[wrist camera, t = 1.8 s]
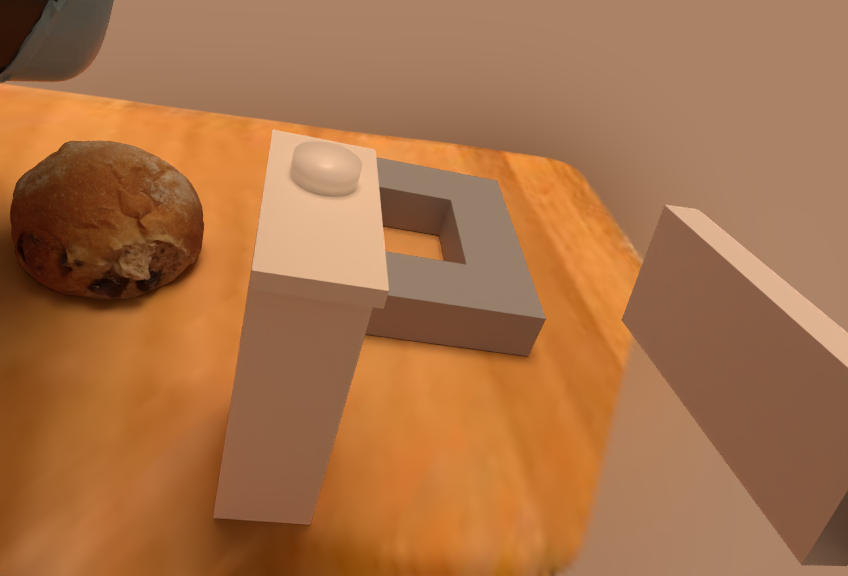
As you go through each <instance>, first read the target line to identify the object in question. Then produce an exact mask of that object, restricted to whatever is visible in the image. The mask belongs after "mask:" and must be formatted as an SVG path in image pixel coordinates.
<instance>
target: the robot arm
mask: <svg viewBox="0 0 848 576" xmlns="http://www.w3.org/2000/svg"><path fill="white" fill-rule="evenodd" d="M113 1H114V0H0V83H3V82H5V81H38V82H58V81H65V80H69V79H72V78H74V77H76V76H77V75H79V74H81V73H82V72H84V71H85V70H86V69H87V68H88V67H89V66H90V65H91V63H92V62H93V60H94V59H95V57H96V56H97V54H98V52H99V50H100V48H101V45H102V43H103V40H104V37H105V33H106V30H107V26H108V23H109V19H110V14H111V10H112V5H113ZM622 321H623V323H624V324H625V325H626V327H627V328H628V329H629V331H630V332H631V333H632V335H633V336H634V338H635V339H636V340H637V341H638V343H639V344H640V346H641V347H642V348H643V350H644V351H645V353H646V354H647V355H648V357H649V358H650V359H651V361H652V362H653V363H654V365H655V366H656V368H657V369H658V370H659V371H660V373H661V374H662V376H663V377H664V378H665V380H666V381H667V382H668V384H669V385H670V387H671V388H672V389H673V391H674V392H675V393H676V395H677V396H678V397H679V398H680V400H681V401H682V403H683V404H684V406H685V407H686V408H687V410H688V411H689V412H690V414H691V415H692V416H693V418H694V419H695V421H696V422H697V423H698V425H699V426H700V427H701V429H702V430H703V432H704V433H705V434H706V436H707V437H708V438H709V440H710V441H711V442H712V444H713V445H714V447H715V448H716V449H717V450H718V452H719V453H720V455H721V456H722V457H723V459H724V460H725V462H726V463H727V464H728V466H729V467H730V468H731V470H732V471H733V472H734V474H735V475H736V477H737V478H738V479H739V480H740V482H741V483H742V485H743V486H744V487H745V489H746V490H747V492H748V493H749V494H750V496H751V497H752V498H753V500H754V501H755V502H756V504H757V505H758V506H759V508H760V509H761V510H762V512H763V513H764V515H765V516H766V517H767V519H768V520H769V522H770V523H771V524H772V526H773V527H774V528H775V530H776V531H777V532H778V534H779V535H780V536H781V538H782V539H783V541H784V542H785V543H786V544H787V546H788V547H789V549H790V550H791V551H792V553H793V554H794V555H795V557H796V558H797V560H798V561H799V562H800V564H801V565H827V566H828V565H829V566H831V565H832V566H847V565H848V333H847V332H846V331H845V330H843V329H842V328H841V327H840V326H839V325H838V324H836V323H835V322H834V321H833V320H831V319H830V318H829V317H828V316H827V315H825V314H824V313H823V312H822V311H821V310H819V309H818V308H817V307H816V306H814V305H813V304H812V303H811V302H810V301H808V300H807V299H806V298H805V297H804V296H802V295H801V294H800V293H799V292H797V291H796V290H795V289H794V288H793V287H791V286H790V285H789V284H788V283H787V282H785V281H784V280H783V279H782V278H780V277H779V276H778V275H777V274H775V272H773V271H772V270H771V269H770V268H768V267H767V266H766V265H764V264H763V263H762V262H761V261H760V260H759V259H758V258H756V257H755V256H754V255H753V254H751V253H750V252H749V251H748V250H747V249H745V248H744V247H743V246H742V245H741V244H739V243H738V242H737V241H736V240H734V239H733V238H732V237H731V236H730V235H728V234H727V233H726V232H725V231H724V230H722V229H721V228H720V227H719V226H718V225H716V224H715V223H714V222H713V221H711V220H710V219H709V218H708V217H707V216H705V215H704V214H703V213H702V212H701V211H699V210H698V209H691V208H685V207H678V206H670V205H664V207H663V210H662V213H661V215H660V218H659V221H658V223H657V226H656V229H655V232H654V234H653V237H652V240H651V242H650V245H649V248H648V251H647V253H646V256H645V259H644V261H643V264H642V267H641V269H640V272H639V275H638V277H637V280H636V283H635V285H634V288H633V291H632V294H631V296H630V299H629V302H628V304H627V307H626V310H625V312H624V315H623V318H622Z"/></svg>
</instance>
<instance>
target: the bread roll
mask: <svg viewBox="0 0 848 576" xmlns="http://www.w3.org/2000/svg"><path fill="white" fill-rule="evenodd" d="M10 221H11V226H12V239H13V243H14V247H15V254H16V257H17V259H18V262H19V264H20V266H21V267H22V268H23V269H24V270H25V271H26V272H27V273H28V274H30V275H31V276H32V277H33V278H34V279H35V280H36V281H38V282H39V283H40V284H41V285H43V286H45V287H48V288H50V289H52V290H54V291H57V292H59V293H62V294H65V295H72V296H79V297H89V298H96V299H100V300H106V299H121V300H124V299H131V298H134V297H136V296H139V295H143V294H148V293H150V292H151V291H152V290H153V289H156V288H159V287H161V286H164V285H166V284H168V283H169V282H171V281H173V280H174V279H175V278H176V277H177V276H179V275H180V274H181V273H182V272H183V271H184V270H185V268H186V267H187V266H188V265H189V264H192V263H194V262H195V259H196V258H197V257H198V255H199V254H200V251H201V247H202V239H203V231H204V222H203V211H202V206H201V203H200V200H199V197H198V195H197V193H196V191H195V189H194V188H193V186H192V184H191V183H190V181H189V180H188V179H187V178H186V177H185V176H184V175H183V174H181V173H180V172H179V171H178V170H177V169H176V168H175V167H173V166H171V165H170V164H169V163H167V162H166V161H164V160H162V159H160V158H159V157H157V156H155V155H153V154H151V153H149V152H146V151H144V150H142V149H140V148H137V147H135V146H131V145H127V144H122V143H117V142H111V141H85V142H82V141H69V142H66V143H64V144H63V145H62V146H61V147H60V149H59V150H58V151H57V152H54V153H52V154H51V155H49V156H48V157H47V158H45V159H44V160H43V161H41V162H40V163H38V164H37V165H36V166H35V167H34V168H32V169H31V170H29V171H28V172H26V173H25V174H24V175H23V176H22V177H21V178H20V179H19V180H18V182H17V183H16V186H15V189H14V193H13V199H12V204H11V211H10ZM140 235H141V236H140Z"/></svg>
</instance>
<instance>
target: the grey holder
mask: <svg viewBox="0 0 848 576" xmlns="http://www.w3.org/2000/svg"><path fill="white" fill-rule="evenodd" d="M376 160H377V170H378V181H379V191H380V202H381V212H382V222H383V226H387V227H393V228H399V229H405V230H411V231H416V232H422V233H428V234H434V235H439V238H440V242H441V247H442V252H443V257H444V261H441V260H435V259H429V258H423V257H417V256H411V255H404V254H398V253H392V252H386V251H385V254H386V264H387V275H388V285H389V293H388V296H387V299H386V303H385V306H384V309H381V308H374V307H373V309H372V312H371V316H370V319H369V323H368V326H367V330H366V333H365V334H367V335H374V336H382V337H389V338H397V339H404V340H411V341H419V342H426V343H433V344H441V345H448V346H456V347H463V348H470V349H478V350H485V351H493V352H500V353H507V354H515V355H522V356H528V355H529V353H530V351H531V349H532V347H533V345H534V343H535V341H536V339H537V336H538V334H539V332H540V330H541V328H542V326H543V324H544V322H545V320H546V318H545V315H544V312H543V309H542V306H541V304H540V301H539V298H538V295H537V292H536V289H535V287H534V284H533V281H532V278H531V275H530V272H529V270H528V267H527V264H526V261H525V258H524V255H523V253H522V250H521V247H520V244H519V241H518V238H517V236H516V233H515V230H514V227H513V224H512V221H511V219H510V216H509V213H508V210H507V207H506V204H505V201H504V199H503V196H502V193H501V190H500V187H499V184H498V182H497V181H496V180H491V179H486V178H481V177H476V176H470V175H465V174H460V173H455V172H450V171H445V170H440V169H434V168H429V167H424V166H419V165H414V164H409V163H403V162H398V161H393V160H388V159H383V158H378V157H376Z"/></svg>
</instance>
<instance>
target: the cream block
mask: <svg viewBox="0 0 848 576" xmlns="http://www.w3.org/2000/svg"><path fill="white" fill-rule="evenodd" d="M388 293H389V285H388V275H387V264H386V254H385V243H384V233H383V222H382V212H381V202H380V191H379V181H378V170H377V160H376V150H375V149H370V148H365V147H360V146H355V145H350V144H344V143H339V142H334V141H329V140H324V139H319V138H314V137H309V136H304V135H299V134H294V133H288V132H283V131H278V130H273V131H272V138H271V144H270V151H269V157H268V164H267V170H266V177H265V183H264V190H263V196H262V203H261V209H260V216H259V222H258V229H257V235H256V242H255V248H254V255H253V261H252V268H251V274H250V281H249V287H248V293H247V300H246V306H245V313H244V319H243V326H242V332H241V339H240V345H239V352H238V358H237V365H236V371H235V378H234V384H233V391H232V397H231V403H230V410H229V417H228V423H227V430H226V436H225V443H224V450H223V456H222V463H221V469H220V476H219V482H218V489H217V496H216V502H215V509H214V515H213V518H221V519H235V520H249V521H263V522H277V523H291V524H305V525H311V521H312V518H313V514H314V511H315V507H316V504H317V500H318V497H319V493H320V490H321V486H322V483H323V479H324V476H325V472H326V469H327V465H328V462H329V458H330V455H331V452H332V448H333V445H334V441H335V438H336V434H337V431H338V427H339V424H340V420H341V417H342V413H343V410H344V406H345V403H346V399H347V396H348V392H349V389H350V385H351V382H352V378H353V375H354V372H355V368H356V365H357V361H358V358H359V354H360V351H361V347H362V344H363V340H364V337H365V333H366V330H367V326H368V323H369V319H370V316H371V312H372V309H373V307H374V308H381V309H384V306H385V303H386V299H387V296H388Z"/></svg>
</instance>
